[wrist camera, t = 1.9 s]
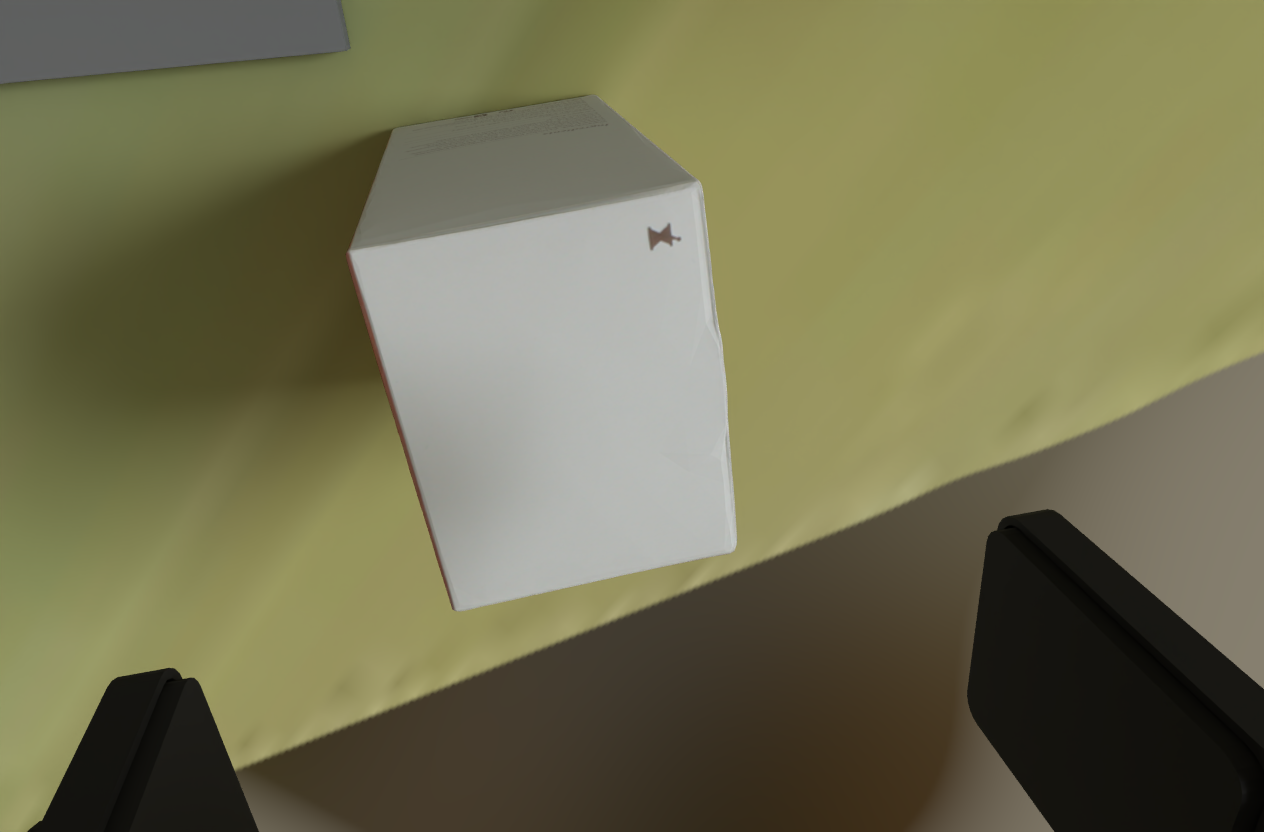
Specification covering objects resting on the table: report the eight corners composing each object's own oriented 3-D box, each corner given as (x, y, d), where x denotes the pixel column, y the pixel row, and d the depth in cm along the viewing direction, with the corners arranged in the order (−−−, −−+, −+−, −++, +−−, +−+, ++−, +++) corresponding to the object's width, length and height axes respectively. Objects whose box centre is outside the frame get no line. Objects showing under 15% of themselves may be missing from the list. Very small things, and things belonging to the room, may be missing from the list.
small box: (388, 125, 26) (336, 242, 14) (598, 90, 26) (712, 173, 15) (452, 373, 29) (451, 623, 18) (635, 336, 30) (747, 554, 19)
